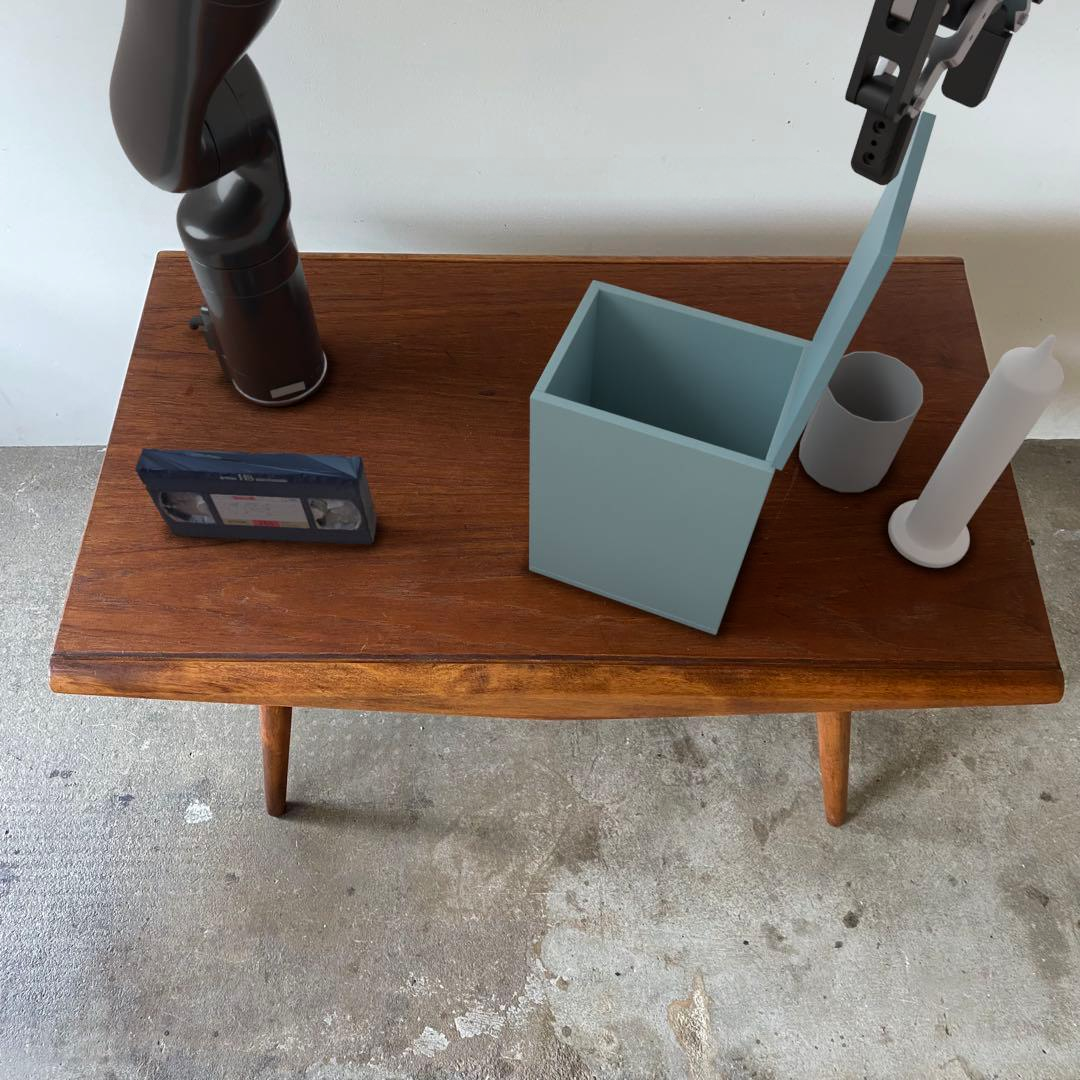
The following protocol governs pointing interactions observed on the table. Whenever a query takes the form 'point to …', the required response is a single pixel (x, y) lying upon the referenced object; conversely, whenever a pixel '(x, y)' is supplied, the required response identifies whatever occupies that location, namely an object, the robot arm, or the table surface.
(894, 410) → the cup
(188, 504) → the vhs cassette tape
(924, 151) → the lid
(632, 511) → the chest
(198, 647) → the table surface
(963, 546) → the candle
